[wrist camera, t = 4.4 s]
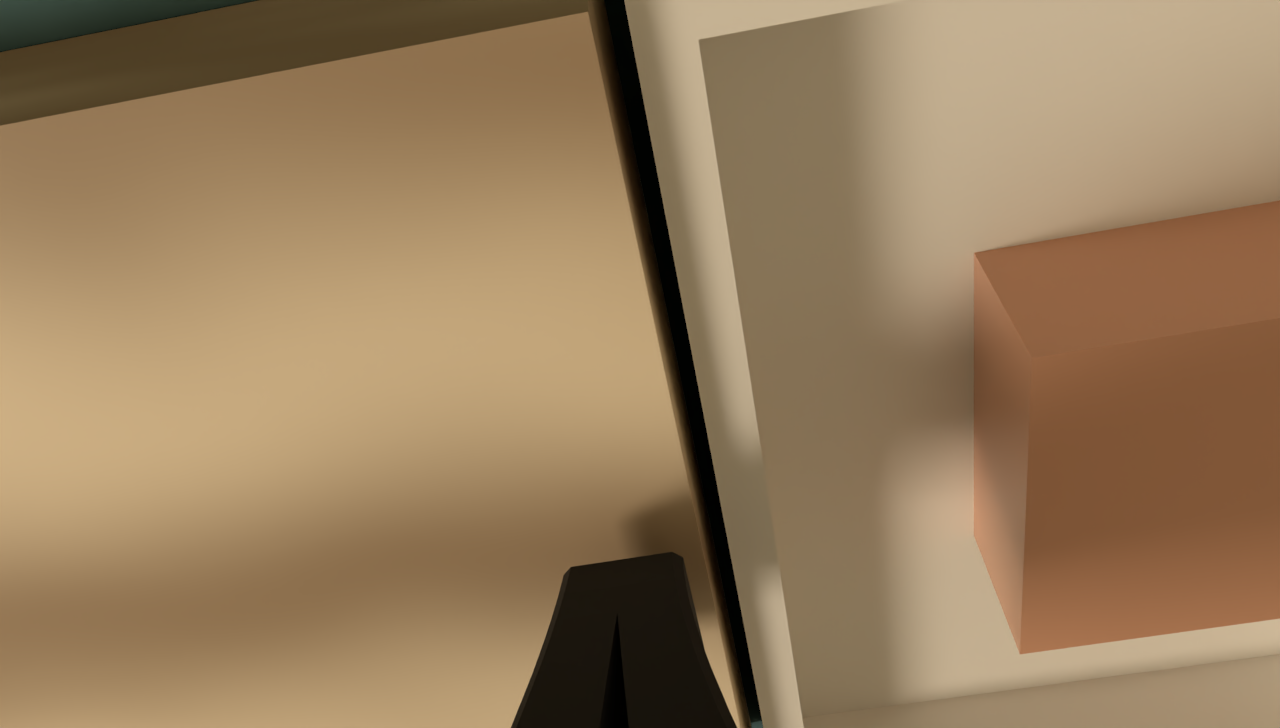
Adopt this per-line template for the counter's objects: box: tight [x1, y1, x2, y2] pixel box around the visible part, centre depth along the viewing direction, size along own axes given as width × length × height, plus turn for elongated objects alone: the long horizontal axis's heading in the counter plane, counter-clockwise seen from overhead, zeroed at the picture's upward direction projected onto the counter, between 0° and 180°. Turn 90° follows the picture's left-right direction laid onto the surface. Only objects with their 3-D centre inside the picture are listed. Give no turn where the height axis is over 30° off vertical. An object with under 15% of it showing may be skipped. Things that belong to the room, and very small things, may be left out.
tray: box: [624, 0, 1280, 728], centre depth 14 cm, size 14×10×2 cm
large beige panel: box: [0, 0, 751, 728], centre depth 15 cm, size 14×12×2 cm
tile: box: [974, 200, 1280, 654], centre depth 13 cm, size 5×5×2 cm
